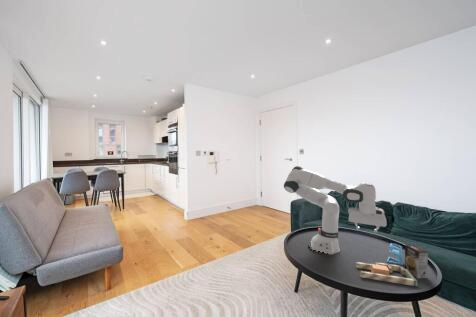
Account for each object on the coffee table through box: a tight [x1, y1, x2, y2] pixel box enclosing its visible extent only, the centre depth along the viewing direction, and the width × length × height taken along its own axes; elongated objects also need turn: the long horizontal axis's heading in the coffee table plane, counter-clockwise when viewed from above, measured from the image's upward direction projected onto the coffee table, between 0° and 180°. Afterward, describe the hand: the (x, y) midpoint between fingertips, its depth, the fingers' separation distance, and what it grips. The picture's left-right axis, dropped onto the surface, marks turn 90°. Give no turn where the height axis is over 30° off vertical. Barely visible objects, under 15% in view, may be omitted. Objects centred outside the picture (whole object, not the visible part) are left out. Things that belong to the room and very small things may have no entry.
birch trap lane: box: [355, 261, 418, 287], centre depth 126 cm, size 27×16×3 cm, turn 72°
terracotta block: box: [370, 263, 390, 275], centre depth 125 cm, size 8×5×5 cm, turn 70°
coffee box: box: [403, 244, 429, 279], centre depth 126 cm, size 9×6×16 cm
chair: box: [386, 242, 404, 266], centre depth 139 cm, size 8×8×12 cm
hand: (366, 230), depth 131 cm, fingers open, 8 cm apart
